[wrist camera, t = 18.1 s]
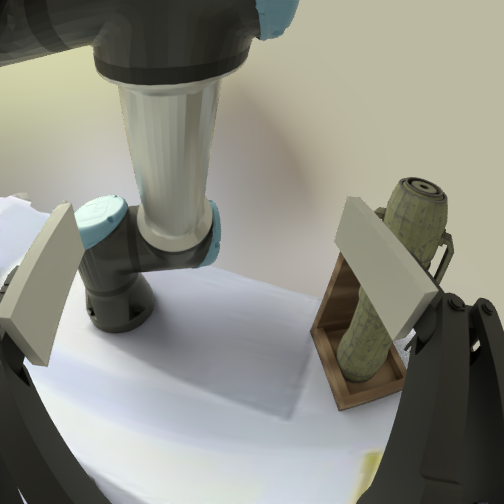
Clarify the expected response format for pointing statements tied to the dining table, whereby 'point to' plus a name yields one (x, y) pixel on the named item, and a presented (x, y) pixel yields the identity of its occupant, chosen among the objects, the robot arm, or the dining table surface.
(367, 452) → the dining table surface
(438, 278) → the thermos
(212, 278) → the dining table surface
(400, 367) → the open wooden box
